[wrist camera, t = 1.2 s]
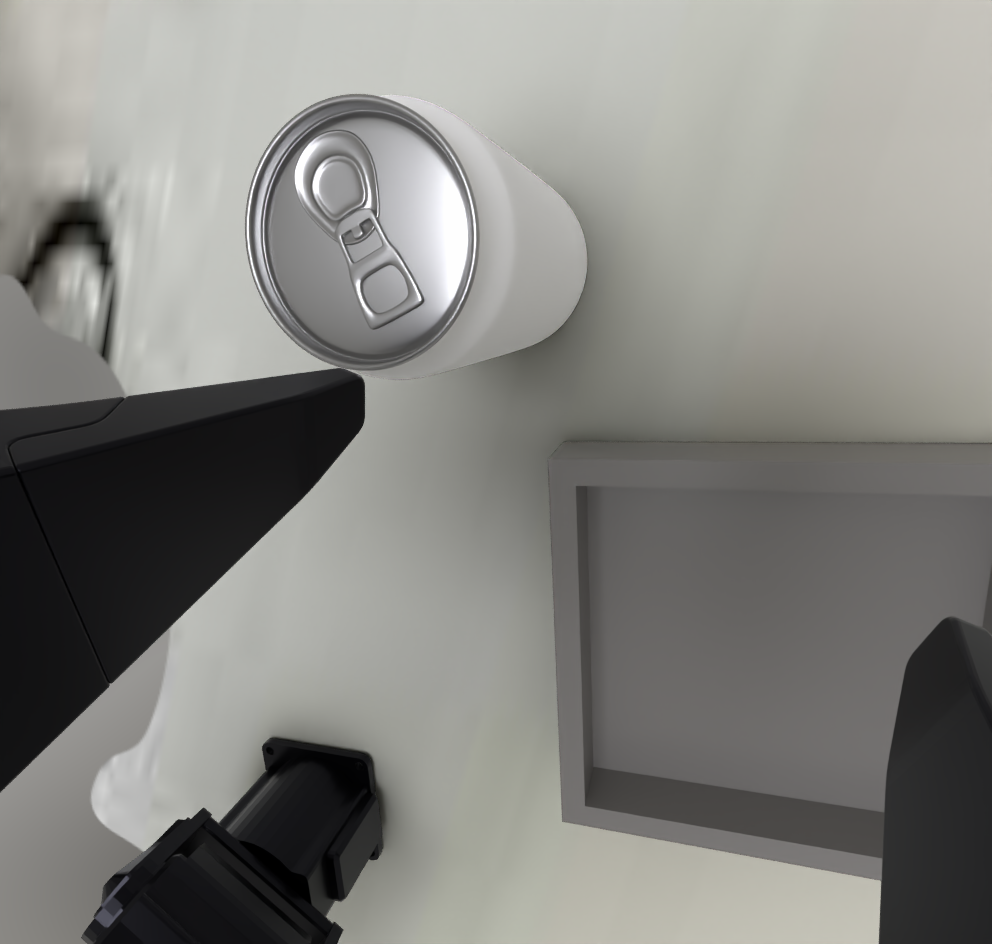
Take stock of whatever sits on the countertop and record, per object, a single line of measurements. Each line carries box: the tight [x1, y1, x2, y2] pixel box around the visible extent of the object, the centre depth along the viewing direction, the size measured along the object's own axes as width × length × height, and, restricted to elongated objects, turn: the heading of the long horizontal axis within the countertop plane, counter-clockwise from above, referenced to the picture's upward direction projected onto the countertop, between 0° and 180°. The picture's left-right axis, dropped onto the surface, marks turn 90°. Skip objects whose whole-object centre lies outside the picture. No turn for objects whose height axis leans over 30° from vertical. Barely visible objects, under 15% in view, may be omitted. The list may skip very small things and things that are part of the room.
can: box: [245, 94, 587, 380], centre depth 19 cm, size 6×6×12 cm
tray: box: [548, 442, 992, 880], centre depth 24 cm, size 16×16×3 cm
